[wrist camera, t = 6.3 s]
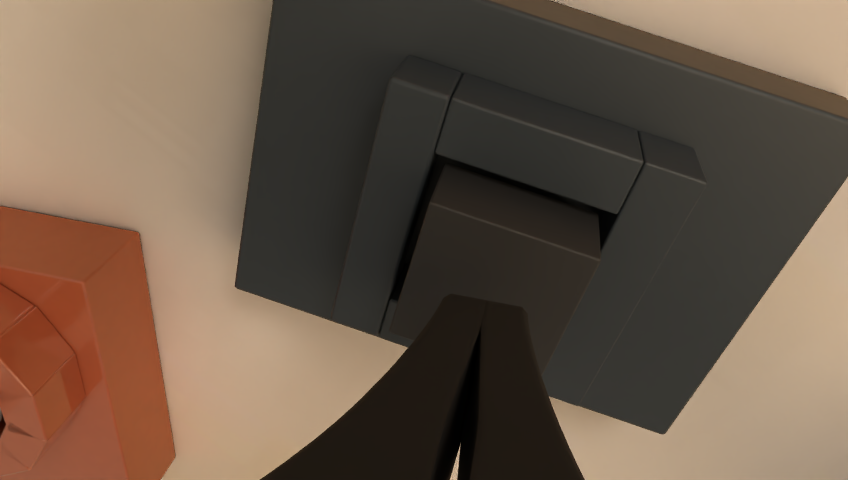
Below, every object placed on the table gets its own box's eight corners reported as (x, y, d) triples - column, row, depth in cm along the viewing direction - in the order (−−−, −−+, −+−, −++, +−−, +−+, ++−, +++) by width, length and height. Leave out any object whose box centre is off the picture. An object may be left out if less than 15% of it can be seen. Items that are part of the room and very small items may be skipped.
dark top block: (542, 330, 15) (538, 384, 13) (407, 284, 15) (387, 333, 13) (599, 213, 13) (601, 259, 12) (446, 161, 13) (429, 201, 12)
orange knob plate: (176, 456, 25) (105, 566, 21) (-15, 412, 26) (-116, 510, 22) (140, 231, 20) (36, 324, 16) (-99, 186, 21) (-250, 263, 17)
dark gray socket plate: (657, 386, 19) (672, 487, 16) (261, 251, 19) (204, 325, 16) (848, 97, 14) (920, 165, 11) (313, -79, 14) (245, -58, 11)
